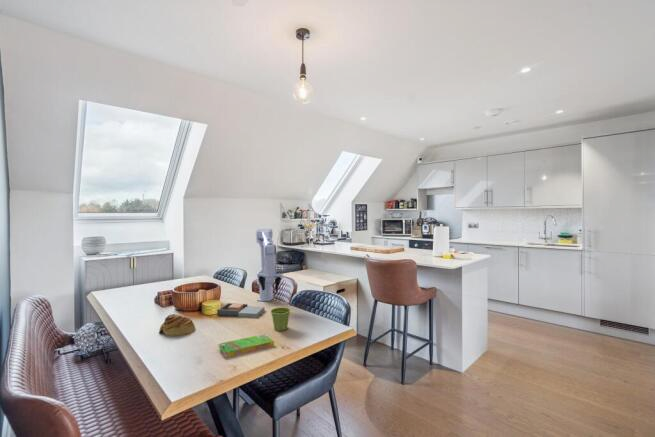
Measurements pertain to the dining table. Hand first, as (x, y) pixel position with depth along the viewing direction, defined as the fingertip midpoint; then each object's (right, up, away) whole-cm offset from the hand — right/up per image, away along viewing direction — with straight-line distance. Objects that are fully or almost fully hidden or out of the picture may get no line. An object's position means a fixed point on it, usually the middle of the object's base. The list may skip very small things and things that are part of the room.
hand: (270, 290), depth 178 cm
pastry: (-37, -12, -32) cm, 50 cm away
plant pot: (+10, -12, -30) cm, 33 cm away
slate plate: (-8, -11, -8) cm, 16 cm away
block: (-18, -10, -5) cm, 21 cm away
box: (-19, -11, -6) cm, 23 cm away
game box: (-1, -13, -50) cm, 51 cm away
